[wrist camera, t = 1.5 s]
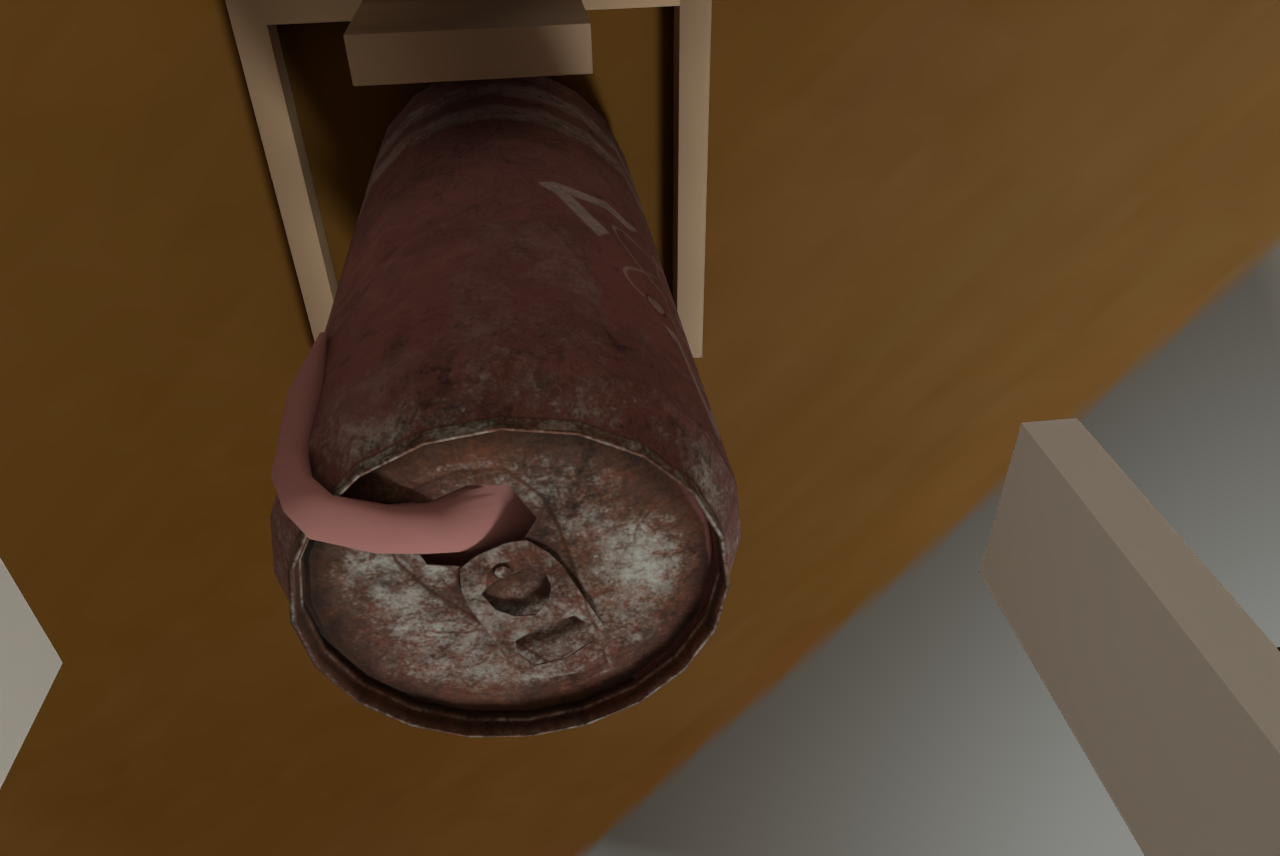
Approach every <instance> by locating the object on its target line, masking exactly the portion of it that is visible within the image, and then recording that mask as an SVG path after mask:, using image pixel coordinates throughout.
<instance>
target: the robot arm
mask: <svg viewBox="0 0 1280 856" xmlns="http://www.w3.org/2000/svg"><path fill="white" fill-rule="evenodd" d="M979 573H980V574H981V576H982V578H983V579H984V581H985V583H986V585H987V586H988V588H989V590H990V591H991V593H992V595H993V596H994V598H995V600H996V602H997V603H998V605H999V607H1000V608H1001V610H1002V612H1003V614H1004V615H1005V617H1006V619H1007V621H1008V622H1009V624H1010V626H1011V627H1012V629H1013V631H1014V633H1015V634H1016V636H1017V638H1018V639H1019V641H1020V643H1021V644H1022V646H1023V648H1024V650H1025V651H1026V653H1027V654H1028V656H1029V658H1030V660H1031V662H1032V663H1033V665H1034V667H1035V668H1036V670H1037V672H1038V674H1039V675H1040V677H1041V679H1042V681H1043V682H1044V684H1045V686H1046V687H1047V689H1048V691H1049V692H1050V694H1051V696H1052V698H1053V699H1054V701H1055V703H1056V704H1057V706H1058V708H1059V710H1060V711H1061V713H1062V715H1063V716H1064V718H1065V720H1066V722H1067V723H1068V725H1069V727H1070V728H1071V730H1072V732H1073V733H1074V735H1075V737H1076V739H1077V740H1078V742H1079V744H1080V746H1081V747H1082V749H1083V751H1084V752H1085V754H1086V756H1087V757H1088V759H1089V761H1090V763H1091V764H1092V766H1093V768H1094V770H1095V771H1096V773H1097V775H1098V776H1099V778H1100V780H1101V781H1102V783H1103V785H1104V787H1105V788H1106V790H1107V792H1108V794H1109V795H1110V797H1111V798H1112V800H1113V802H1114V804H1115V806H1116V807H1117V809H1118V811H1119V812H1120V814H1121V816H1122V817H1123V819H1124V821H1125V823H1126V824H1127V826H1128V828H1129V829H1130V831H1131V833H1132V834H1133V836H1134V838H1135V840H1136V841H1137V843H1138V845H1139V847H1140V848H1141V850H1142V852H1143V853H1144V855H1145V856H1280V647H1278V648H1276V647H1275V645H1274V644H1273V643H1272V642H1271V641H1270V640H1269V638H1268V637H1267V636H1266V635H1265V634H1264V633H1263V632H1262V630H1261V629H1260V628H1259V627H1258V626H1257V625H1256V624H1255V622H1254V621H1253V620H1252V619H1251V618H1250V617H1249V616H1248V614H1247V613H1246V612H1245V611H1244V610H1243V609H1242V607H1241V606H1240V605H1239V604H1238V603H1237V602H1236V601H1235V599H1234V598H1233V597H1232V596H1231V595H1230V594H1229V592H1227V590H1226V589H1225V588H1224V587H1223V586H1222V584H1221V583H1220V582H1219V581H1218V580H1217V579H1216V577H1215V576H1214V575H1213V574H1212V573H1211V572H1210V571H1209V570H1208V568H1207V567H1206V566H1205V565H1204V564H1203V563H1202V561H1201V560H1200V559H1199V558H1198V557H1197V556H1196V555H1195V553H1194V552H1193V551H1192V550H1191V549H1190V548H1189V547H1188V545H1187V544H1186V543H1185V542H1184V541H1183V540H1182V539H1181V537H1180V536H1179V535H1178V534H1177V533H1176V532H1175V530H1174V529H1173V528H1172V527H1171V526H1170V525H1169V524H1168V523H1167V521H1166V520H1165V519H1164V518H1163V517H1162V515H1161V514H1160V513H1159V512H1158V511H1157V510H1156V509H1155V507H1153V505H1152V504H1151V503H1150V502H1149V501H1148V500H1147V498H1146V497H1145V496H1144V495H1143V494H1142V493H1141V491H1140V490H1139V489H1138V488H1137V487H1136V486H1135V484H1134V483H1133V482H1132V481H1131V480H1130V479H1129V478H1128V477H1127V475H1126V474H1125V473H1124V472H1123V471H1122V470H1121V468H1120V467H1119V466H1118V465H1117V464H1116V463H1115V461H1113V459H1112V458H1111V457H1110V456H1109V455H1108V454H1107V452H1106V451H1105V450H1104V449H1103V448H1102V447H1101V445H1100V444H1099V443H1098V442H1097V441H1096V440H1095V439H1094V437H1093V436H1092V435H1091V434H1090V433H1089V432H1088V430H1087V429H1086V428H1085V427H1084V426H1083V425H1082V424H1081V422H1080V421H1079V420H1078V419H1077V418H1073V419H1061V420H1050V421H1038V422H1026V423H1021V426H1020V430H1019V434H1018V437H1017V441H1016V444H1015V448H1014V451H1013V455H1012V458H1011V462H1010V465H1009V469H1008V472H1007V476H1006V479H1005V483H1004V486H1003V490H1002V493H1001V497H1000V501H999V504H998V508H997V511H996V515H995V518H994V522H993V525H992V529H991V532H990V536H989V540H988V543H987V546H986V550H985V554H984V557H983V560H982V564H981V568H980V572H979ZM61 665H62V661H61V659H60V658H59V656H58V654H57V653H56V651H55V649H54V648H53V646H52V644H51V642H50V641H49V639H48V637H47V636H46V634H45V632H44V631H43V629H42V627H41V626H40V624H39V622H38V621H37V619H36V617H35V616H34V614H33V612H32V611H31V609H30V607H29V605H28V604H27V602H26V600H25V599H24V597H23V595H22V594H21V592H20V590H19V589H18V587H17V585H16V584H15V582H14V580H13V579H12V577H11V575H10V574H9V572H8V570H7V568H6V567H5V565H4V563H3V562H2V560H1V558H0V788H1V786H2V784H3V782H4V780H5V778H6V776H7V774H8V772H9V770H10V768H11V766H12V764H13V762H14V760H15V758H16V756H17V754H18V752H19V750H20V748H21V746H22V744H23V742H24V740H25V738H26V736H27V734H28V732H29V730H30V728H31V726H32V724H33V722H34V720H35V718H36V716H37V714H38V711H39V709H40V707H41V705H42V703H43V701H44V699H45V697H46V695H47V693H48V691H49V689H50V687H51V685H52V683H53V681H54V679H55V677H56V675H57V673H58V671H59V669H60V667H61Z"/></svg>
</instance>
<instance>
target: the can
mask: <svg viewBox="0 0 1280 856" xmlns="http://www.w3.org/2000/svg"><path fill="white" fill-rule="evenodd" d="M271 477H272V481H273V484H274V487H275V489H276V492H277V496H276V499H275V502H274V506H273V509H272V513H271V516H270V519H271V533H272V546H273V560H274V573H275V575H276V577H277V579H278V581H279V583H280V585H281V587H282V589H283V591H284V593H285V595H286V597H287V599H288V601H289V606H290V622H291V624H292V626H293V628H294V630H295V631H296V633H297V635H298V637H299V639H300V641H301V642H302V644H303V646H304V648H305V650H306V651H307V653H308V655H309V657H310V659H311V660H312V662H313V664H314V666H315V667H316V668H317V669H318V670H319V671H320V672H322V673H323V674H324V675H325V676H326V677H327V678H329V679H330V680H331V681H332V682H333V683H335V684H336V685H337V686H338V687H339V688H340V689H342V690H343V691H344V692H345V693H346V694H348V695H349V696H350V697H351V698H352V699H353V700H355V701H356V702H357V703H360V704H362V705H364V706H366V707H369V708H371V709H373V710H375V711H377V712H380V713H382V714H384V715H386V716H389V717H391V718H393V719H395V720H397V721H400V722H402V723H404V724H406V725H409V726H413V727H418V728H423V729H428V730H434V731H439V732H444V733H449V734H454V735H459V736H464V737H530V736H535V735H540V734H545V733H550V732H555V731H560V730H565V729H570V728H575V727H580V726H585V725H589V724H591V723H593V722H596V721H598V720H600V719H603V718H605V717H607V716H610V715H612V714H615V713H617V712H619V711H622V710H624V709H626V708H629V707H631V706H634V705H636V704H638V703H641V702H642V701H643V700H645V699H646V698H647V697H649V696H650V695H652V694H653V693H654V692H656V691H657V690H658V689H660V688H661V687H663V686H664V685H665V684H667V683H668V682H669V681H671V680H672V679H674V678H675V677H676V676H678V675H679V674H680V673H682V672H683V671H685V669H686V668H687V667H688V665H689V664H690V663H691V661H692V660H693V659H694V658H695V656H696V655H697V654H698V652H699V651H700V650H701V649H702V647H703V646H704V645H705V643H706V642H707V641H708V640H709V638H710V637H711V636H712V634H713V633H714V632H715V631H716V628H717V624H718V621H719V618H720V615H721V612H722V609H723V605H724V602H725V599H726V596H727V593H728V590H729V586H730V581H729V574H730V571H731V568H732V565H733V562H734V558H735V555H736V552H737V549H738V546H739V542H740V539H741V526H740V516H739V507H738V497H737V487H736V481H735V478H734V475H733V472H732V469H731V467H730V464H729V461H728V458H727V455H726V452H725V449H724V446H723V443H722V440H721V437H720V434H719V432H718V429H717V426H716V423H715V420H714V417H713V414H712V411H711V408H710V405H709V402H708V399H707V397H706V394H705V391H704V388H703V385H702V382H701V379H700V376H699V373H698V370H697V367H696V364H695V361H694V359H693V356H692V353H691V350H690V347H689V344H688V341H687V338H686V335H685V332H684V329H683V326H682V324H681V321H680V318H679V315H678V312H677V309H676V306H675V303H674V300H673V297H672V294H671V291H670V289H669V286H668V283H667V280H666V277H665V274H664V271H663V268H662V265H661V262H660V259H659V256H658V254H657V251H656V248H655V245H654V242H653V239H652V236H651V233H650V230H649V227H648V224H647V221H646V218H645V216H644V213H643V210H642V207H641V204H640V201H639V198H638V195H637V192H636V189H635V186H634V183H633V181H632V178H631V175H630V172H629V169H628V166H627V163H626V160H625V157H624V155H623V153H622V151H621V149H620V147H619V145H618V143H617V141H616V139H615V137H614V136H613V134H612V132H611V130H610V128H609V126H608V124H607V122H606V120H605V119H604V118H603V117H602V116H601V115H600V114H599V113H598V112H597V111H596V110H594V109H593V108H592V107H591V106H590V105H589V104H588V103H587V102H586V101H585V100H584V99H583V98H582V97H581V96H580V95H579V94H578V93H577V92H576V91H574V90H572V89H570V88H568V87H566V86H564V85H562V84H560V83H558V82H556V81H554V80H552V79H550V78H548V77H546V76H537V77H519V78H500V79H481V80H463V81H444V82H436V83H435V84H433V85H431V86H429V87H427V88H426V89H424V90H422V91H420V92H419V93H417V94H415V95H414V96H413V97H412V99H411V100H410V101H409V102H408V103H407V104H406V106H405V107H404V108H403V109H402V110H401V111H400V113H399V114H398V115H397V116H396V117H395V119H394V120H393V121H392V122H391V123H390V124H389V126H388V128H387V130H386V133H385V136H384V138H383V141H382V144H381V147H380V149H379V152H378V155H377V157H376V160H375V163H374V166H373V169H372V173H371V176H370V180H369V183H368V186H367V190H366V193H365V197H364V200H363V203H362V207H361V210H360V214H359V217H358V220H357V224H356V227H355V231H354V234H353V237H352V241H351V244H350V248H349V251H348V254H347V258H346V261H345V265H344V268H343V271H342V275H341V278H340V282H339V285H338V288H337V292H336V295H335V299H334V302H333V305H332V309H331V312H330V316H329V319H328V322H327V326H326V329H325V332H321V333H319V335H318V337H317V339H316V341H315V343H314V344H313V346H312V348H311V350H310V352H309V353H308V355H307V357H306V359H305V361H304V363H303V364H302V366H301V368H300V370H299V372H298V374H297V375H296V377H295V379H294V381H293V383H292V385H291V386H290V388H289V390H288V394H287V399H286V404H285V409H284V414H283V419H282V424H281V429H280V434H279V439H278V444H277V449H276V454H275V459H274V464H273V469H272V473H271Z"/></svg>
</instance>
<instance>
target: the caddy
mask: <svg viewBox="0 0 1280 856" xmlns="http://www.w3.org/2000/svg"><path fill="white" fill-rule="evenodd" d="M225 2H226V6H227V10H228V13H229V17H230V21H231V25H232V29H233V32H234V36H235V40H236V44H237V48H238V51H239V55H240V59H241V63H242V67H243V71H244V74H245V78H246V82H247V86H248V90H249V93H250V97H251V101H252V105H253V109H254V112H255V116H256V120H257V124H258V128H259V132H260V135H261V139H262V143H263V147H264V151H265V154H266V158H267V162H268V166H269V170H270V173H271V177H272V181H273V185H274V189H275V192H276V196H277V200H278V204H279V208H280V212H281V215H282V219H283V223H284V227H285V231H286V234H287V238H288V242H289V246H290V250H291V253H292V257H293V261H294V265H295V269H296V273H297V276H298V280H299V284H300V288H301V292H302V295H303V299H304V303H305V307H306V311H307V314H308V318H309V322H310V326H311V330H312V334H313V337H314V341H316V339H317V337H318V335H319V333H321V332H325V329H326V326H327V322H328V319H329V316H330V312H331V309H332V305H333V302H334V299H335V295H336V292H337V288H338V286H337V281H336V277H335V273H334V269H333V264H332V260H331V256H330V252H329V247H328V243H327V239H326V235H325V230H324V226H323V222H322V218H321V213H320V209H319V205H318V201H317V196H316V192H315V188H314V184H313V179H312V175H311V171H310V167H309V162H308V158H307V154H306V150H305V145H304V141H303V137H302V133H301V129H300V124H299V120H298V116H297V112H296V107H295V103H294V99H293V95H292V90H291V86H290V82H289V78H288V73H287V69H286V65H285V61H284V56H283V52H282V48H281V44H280V39H279V35H278V31H277V27H276V25H278V24H299V23H321V22H342V21H351V22H350V24H349V26H348V28H347V29H346V31H345V33H344V35H343V37H344V42H345V47H346V52H347V57H348V62H349V67H350V72H351V78H352V83H353V86H369V85H388V84H407V83H425V82H444V81H463V80H481V79H500V78H519V77H537V76H556V75H575V74H593V68H592V46H591V24H590V21H589V18H588V16H587V13H586V11H585V10H598V9H620V8H641V7H663V6H674V86H673V300H674V303H675V306H676V309H677V312H678V315H679V318H680V321H681V324H682V326H683V329H684V332H685V335H686V338H687V341H688V344H689V347H690V350H691V353H692V356H693V358H697V357H702V338H703V302H704V265H705V228H706V191H707V154H708V117H709V81H710V44H711V7H712V0H225Z"/></svg>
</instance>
